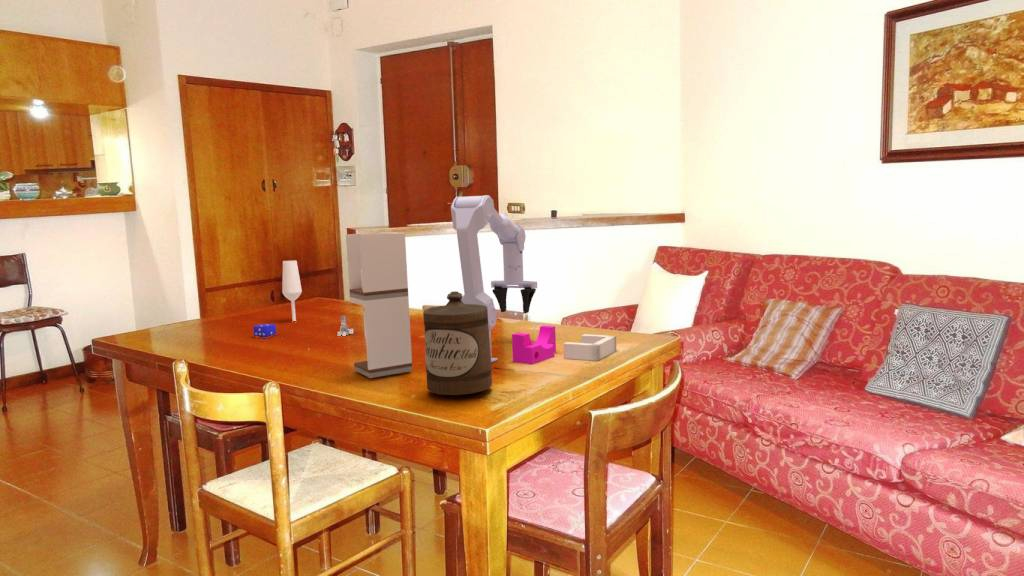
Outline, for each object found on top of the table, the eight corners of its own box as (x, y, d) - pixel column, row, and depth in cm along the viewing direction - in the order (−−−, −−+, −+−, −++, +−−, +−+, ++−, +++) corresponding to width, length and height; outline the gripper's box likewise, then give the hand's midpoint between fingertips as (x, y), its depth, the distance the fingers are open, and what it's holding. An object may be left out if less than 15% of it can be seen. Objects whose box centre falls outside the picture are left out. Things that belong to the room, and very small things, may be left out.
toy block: (532, 365, 181) (531, 336, 180) (512, 362, 185) (511, 334, 184) (563, 353, 193) (562, 327, 192) (544, 351, 197) (543, 325, 196)
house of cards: (361, 341, 223) (359, 317, 222) (333, 342, 223) (332, 318, 222) (367, 336, 232) (365, 313, 231) (341, 337, 232) (339, 314, 231)
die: (267, 342, 227) (265, 326, 226) (254, 341, 228) (253, 326, 228) (276, 339, 231) (275, 324, 231) (264, 338, 233) (263, 323, 232)
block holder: (597, 361, 182) (597, 345, 181) (563, 358, 186) (563, 343, 186) (616, 350, 194) (616, 336, 193) (584, 348, 198) (584, 334, 198)
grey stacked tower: (395, 363, 188) (388, 232, 183) (412, 370, 179) (404, 232, 174) (354, 370, 181) (345, 234, 177) (369, 378, 173) (360, 235, 168)
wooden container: (415, 393, 157) (410, 295, 154) (444, 377, 170) (440, 287, 168) (476, 397, 151) (471, 296, 149) (501, 380, 165) (498, 287, 163)
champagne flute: (281, 329, 250) (276, 262, 247) (290, 326, 257) (285, 260, 254) (299, 329, 249) (294, 261, 246) (307, 325, 255) (302, 259, 253)
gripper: (541, 265, 207) (542, 311, 208) (498, 265, 214) (500, 309, 215) (530, 267, 200) (531, 314, 202) (486, 267, 208) (488, 312, 209)
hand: (514, 312), depth 208 cm, fingers open, 7 cm apart
